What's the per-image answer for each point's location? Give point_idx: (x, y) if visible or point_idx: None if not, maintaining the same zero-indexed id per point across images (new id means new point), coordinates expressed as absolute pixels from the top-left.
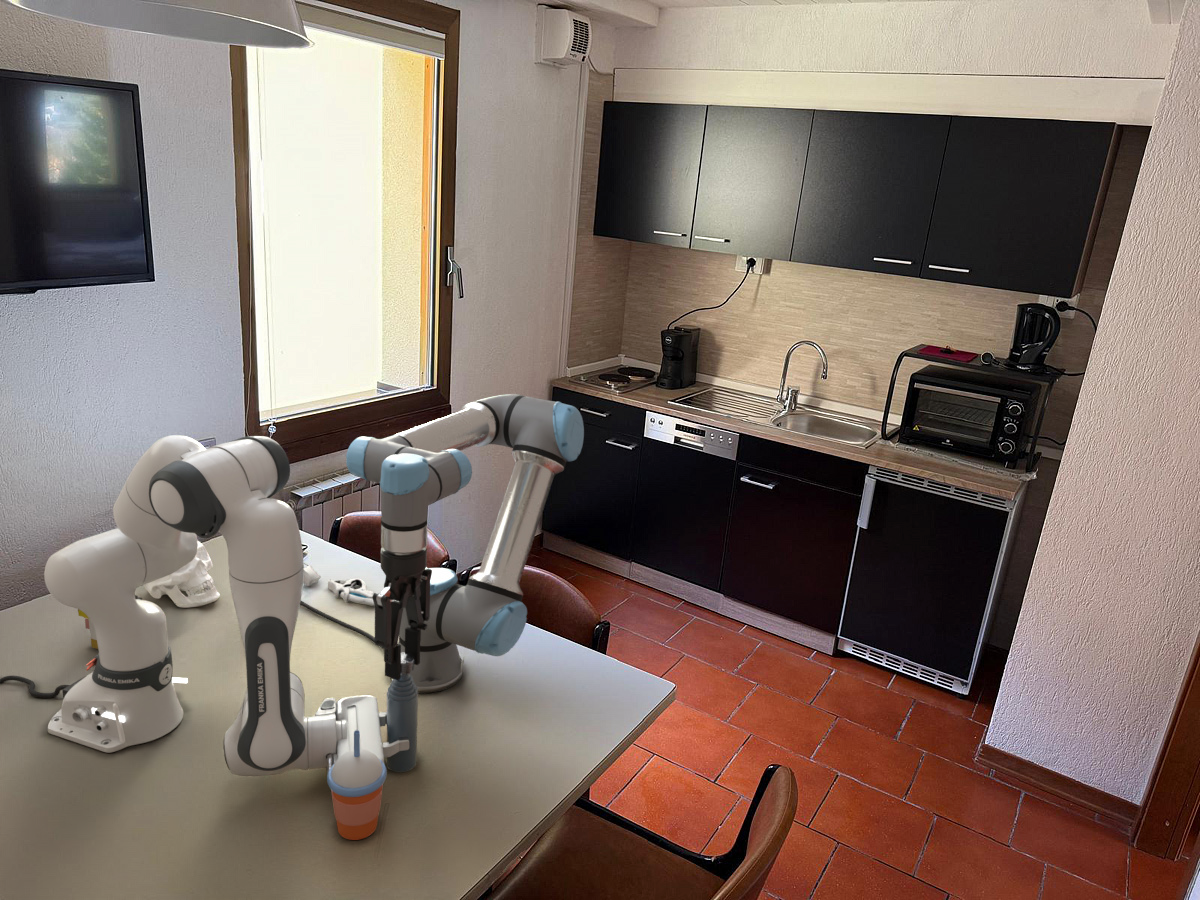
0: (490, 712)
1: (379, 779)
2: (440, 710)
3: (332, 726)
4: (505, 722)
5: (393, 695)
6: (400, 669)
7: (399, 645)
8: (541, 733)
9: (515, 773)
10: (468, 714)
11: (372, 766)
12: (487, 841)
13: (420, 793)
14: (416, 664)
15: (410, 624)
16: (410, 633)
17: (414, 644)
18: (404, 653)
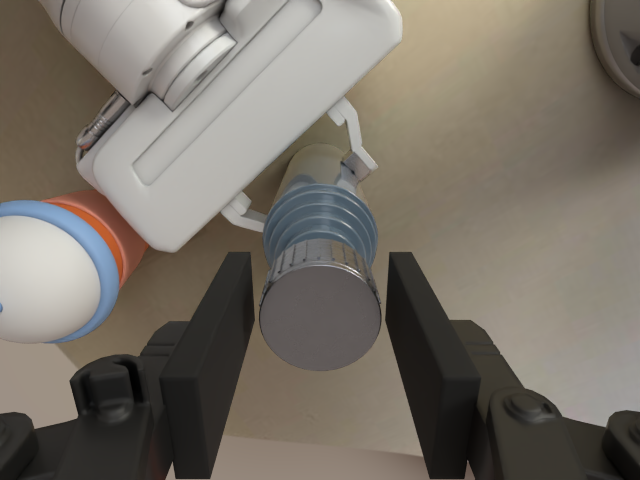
0: (570, 244)
1: (51, 341)
2: (536, 137)
3: (133, 66)
4: (544, 289)
5: (267, 243)
6: (246, 347)
7: (193, 478)
8: (534, 362)
9: (399, 375)
10: (544, 205)
11: (24, 341)
12: (230, 410)
13: (261, 265)
14: (386, 316)
15: (488, 423)
16: (429, 400)
17: (407, 376)
18: (365, 302)
